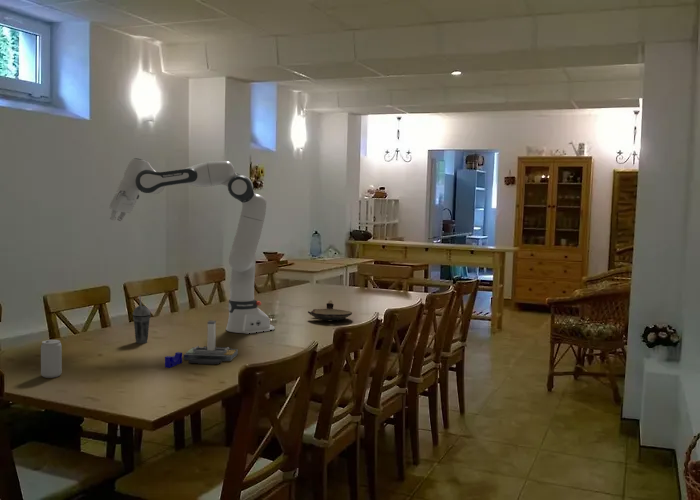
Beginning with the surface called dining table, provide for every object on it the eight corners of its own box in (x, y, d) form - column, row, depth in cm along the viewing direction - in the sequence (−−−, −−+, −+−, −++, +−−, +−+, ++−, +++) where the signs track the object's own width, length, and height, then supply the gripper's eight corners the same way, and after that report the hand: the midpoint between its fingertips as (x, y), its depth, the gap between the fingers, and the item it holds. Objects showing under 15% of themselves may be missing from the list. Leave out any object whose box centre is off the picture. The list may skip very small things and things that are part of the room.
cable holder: (174, 362, 245) (174, 351, 244) (182, 363, 244) (182, 352, 243) (161, 367, 237) (161, 356, 237) (169, 368, 236) (169, 357, 236)
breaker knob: (207, 352, 252) (207, 321, 251) (209, 350, 255) (209, 320, 254) (213, 352, 252) (213, 322, 251) (215, 350, 255) (215, 320, 254)
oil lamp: (300, 322, 326) (300, 307, 326) (322, 313, 355) (322, 299, 354) (342, 326, 319) (343, 311, 319) (361, 316, 347) (361, 302, 347)
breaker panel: (183, 359, 248) (183, 350, 247) (192, 352, 260) (192, 343, 259) (230, 361, 247) (230, 352, 247) (237, 354, 259) (237, 345, 259)
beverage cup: (154, 341, 276) (154, 294, 275) (143, 344, 270) (143, 297, 268) (139, 339, 279) (139, 293, 277) (128, 343, 272) (128, 295, 270)
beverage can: (45, 373, 225) (44, 339, 224) (64, 373, 225) (64, 339, 224) (38, 378, 218) (37, 343, 217) (57, 378, 219) (57, 343, 218)
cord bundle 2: (188, 363, 242) (188, 360, 242) (190, 361, 245) (190, 358, 245) (219, 365, 242) (220, 361, 241) (221, 363, 245) (221, 359, 244)
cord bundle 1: (201, 351, 262) (201, 347, 262) (203, 349, 265) (203, 345, 265) (230, 352, 262) (230, 348, 261) (232, 350, 265) (232, 347, 264)
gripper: (126, 192, 284) (114, 222, 284) (140, 196, 304) (129, 223, 304) (113, 187, 284) (100, 216, 284) (128, 191, 304) (116, 218, 304)
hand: (115, 220), depth 294 cm, fingers open, 8 cm apart
